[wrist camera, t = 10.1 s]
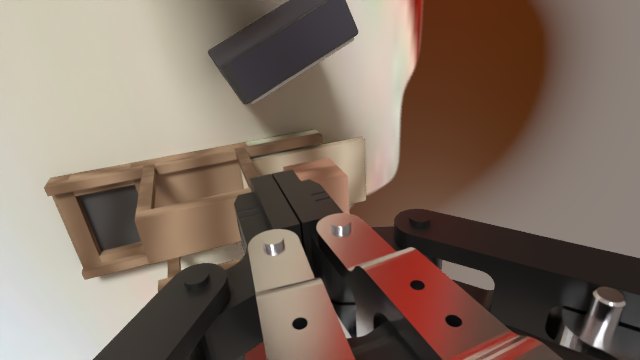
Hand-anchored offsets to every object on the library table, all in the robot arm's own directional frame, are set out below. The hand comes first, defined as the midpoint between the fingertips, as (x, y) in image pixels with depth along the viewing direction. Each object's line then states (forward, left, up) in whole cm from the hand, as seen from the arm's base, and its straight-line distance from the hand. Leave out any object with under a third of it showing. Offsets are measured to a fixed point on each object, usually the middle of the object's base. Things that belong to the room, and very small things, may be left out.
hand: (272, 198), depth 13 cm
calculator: (+3, +6, -33) cm, 34 cm away
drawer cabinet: (+9, -13, -33) cm, 37 cm away
